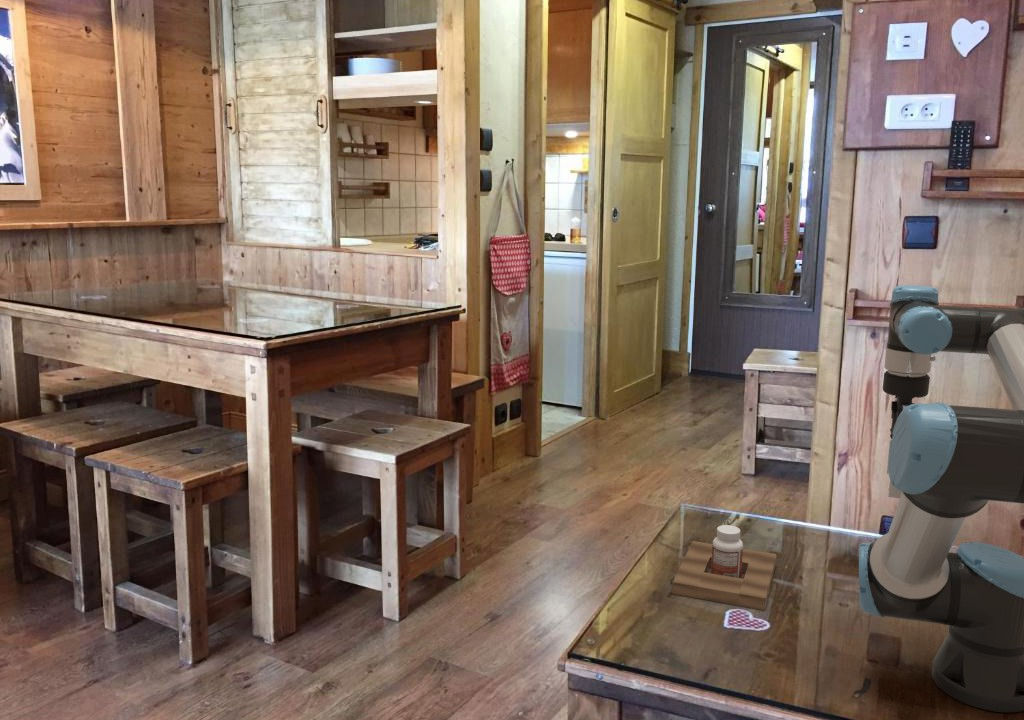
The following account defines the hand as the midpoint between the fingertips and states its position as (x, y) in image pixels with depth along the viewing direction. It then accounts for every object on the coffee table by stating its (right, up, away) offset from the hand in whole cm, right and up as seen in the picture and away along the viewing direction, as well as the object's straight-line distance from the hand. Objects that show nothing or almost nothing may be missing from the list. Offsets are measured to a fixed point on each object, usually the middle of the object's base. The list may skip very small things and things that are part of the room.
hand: (895, 485), depth 160 cm
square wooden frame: (-26, -23, +22) cm, 41 cm away
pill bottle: (-26, -23, +22) cm, 41 cm away
